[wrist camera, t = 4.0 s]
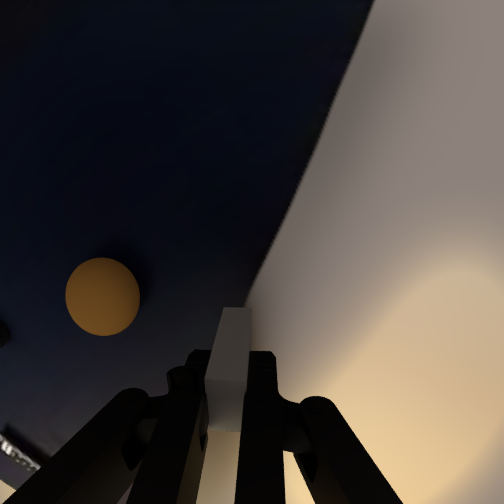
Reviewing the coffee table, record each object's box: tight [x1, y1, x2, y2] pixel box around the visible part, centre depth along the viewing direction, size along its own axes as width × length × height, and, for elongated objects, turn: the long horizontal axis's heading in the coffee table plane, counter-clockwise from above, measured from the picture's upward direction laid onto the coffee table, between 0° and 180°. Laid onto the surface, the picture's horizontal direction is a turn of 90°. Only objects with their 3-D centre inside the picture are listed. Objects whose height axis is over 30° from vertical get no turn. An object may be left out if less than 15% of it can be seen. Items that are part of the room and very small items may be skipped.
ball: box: [66, 258, 140, 336], centre depth 21 cm, size 6×6×6 cm
